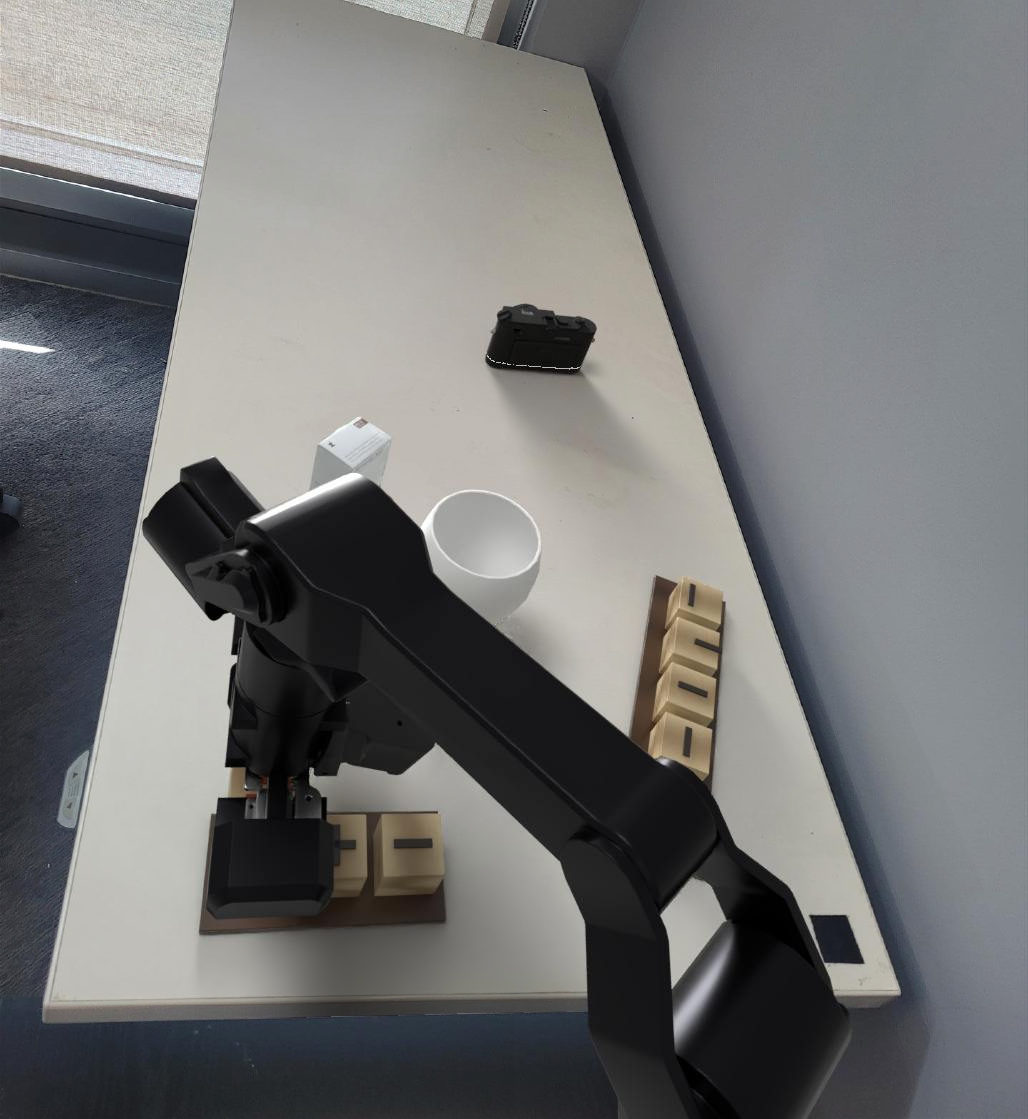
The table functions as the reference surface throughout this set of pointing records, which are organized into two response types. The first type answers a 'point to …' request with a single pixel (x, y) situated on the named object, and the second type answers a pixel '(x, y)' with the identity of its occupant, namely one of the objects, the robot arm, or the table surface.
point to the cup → (484, 550)
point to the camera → (539, 340)
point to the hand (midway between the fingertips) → (264, 802)
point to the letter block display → (680, 675)
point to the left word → (366, 875)
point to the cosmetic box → (352, 453)
